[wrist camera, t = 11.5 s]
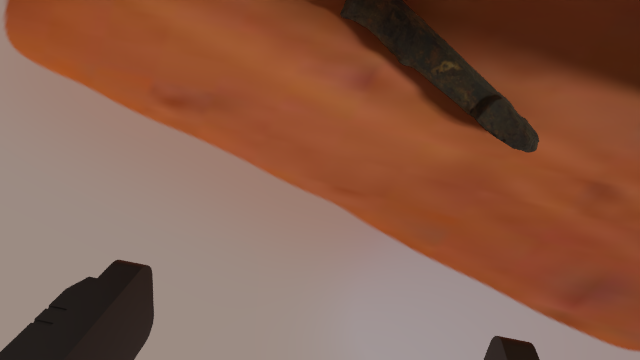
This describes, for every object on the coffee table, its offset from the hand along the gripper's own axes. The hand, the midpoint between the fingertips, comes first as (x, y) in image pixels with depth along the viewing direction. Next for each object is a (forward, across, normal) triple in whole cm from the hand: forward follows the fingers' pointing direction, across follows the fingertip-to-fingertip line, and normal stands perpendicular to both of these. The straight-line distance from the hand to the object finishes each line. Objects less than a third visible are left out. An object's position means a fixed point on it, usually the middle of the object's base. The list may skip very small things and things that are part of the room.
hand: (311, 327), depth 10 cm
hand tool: (+30, -6, -2) cm, 31 cm away
